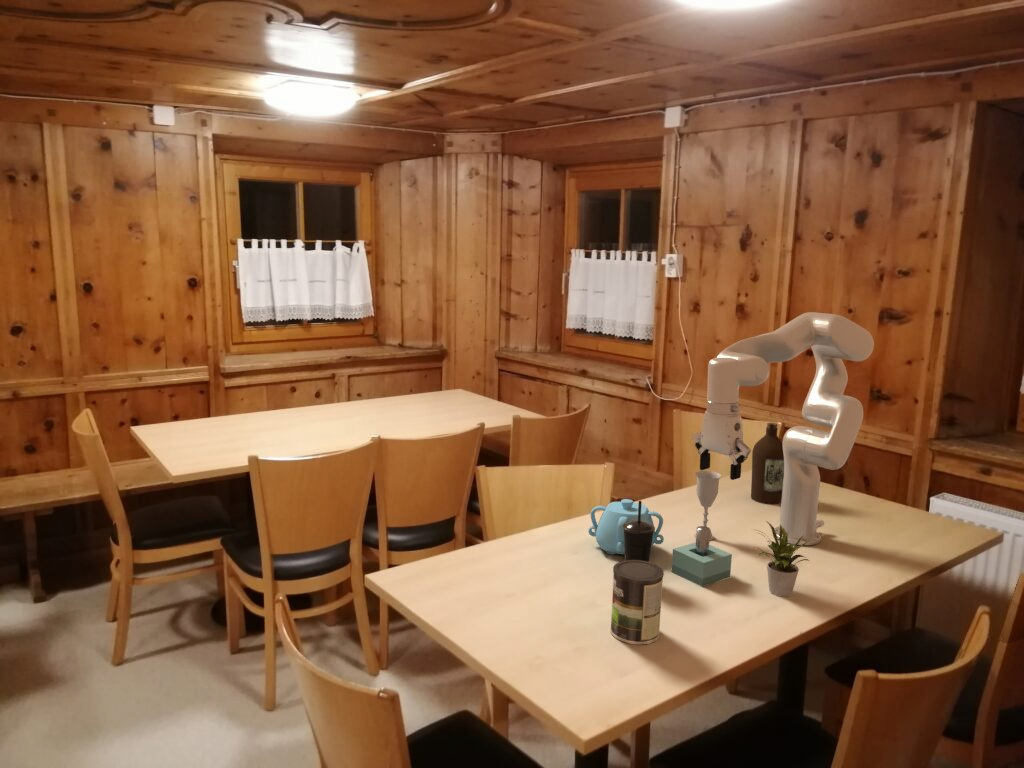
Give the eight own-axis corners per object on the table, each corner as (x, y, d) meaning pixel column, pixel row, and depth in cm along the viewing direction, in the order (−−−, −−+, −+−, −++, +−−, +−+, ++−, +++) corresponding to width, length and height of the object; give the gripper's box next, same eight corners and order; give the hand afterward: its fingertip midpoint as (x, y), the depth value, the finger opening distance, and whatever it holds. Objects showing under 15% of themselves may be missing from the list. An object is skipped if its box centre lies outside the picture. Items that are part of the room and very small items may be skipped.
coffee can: (616, 645, 159) (619, 580, 156) (605, 621, 169) (608, 559, 166) (666, 644, 160) (669, 579, 157) (652, 620, 170) (656, 559, 167)
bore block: (699, 563, 200) (700, 540, 199) (730, 577, 192) (731, 554, 191) (671, 571, 195) (672, 548, 194) (701, 586, 187) (703, 562, 186)
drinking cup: (654, 576, 192) (658, 498, 188) (649, 589, 185) (653, 508, 181) (623, 571, 194) (627, 494, 191) (617, 584, 187) (620, 504, 184)
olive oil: (742, 494, 256) (748, 420, 251) (772, 493, 258) (778, 419, 253) (759, 505, 245) (765, 428, 241) (790, 504, 248) (796, 427, 243)
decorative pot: (612, 565, 198) (615, 514, 196) (583, 542, 213) (585, 494, 210) (667, 556, 204) (670, 507, 202) (635, 534, 219) (637, 488, 216)
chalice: (717, 542, 214) (721, 479, 211) (691, 540, 216) (695, 477, 212) (716, 533, 221) (720, 471, 218) (691, 531, 223) (695, 470, 219)
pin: (700, 563, 195) (702, 525, 193) (710, 567, 193) (712, 529, 191) (691, 566, 193) (693, 527, 192) (701, 570, 191) (703, 531, 189)
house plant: (732, 581, 190) (736, 517, 187) (777, 573, 195) (783, 511, 192) (771, 607, 177) (777, 538, 174) (819, 598, 182) (826, 531, 179)
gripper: (761, 411, 189) (757, 479, 193) (705, 399, 203) (703, 462, 207) (740, 416, 185) (737, 485, 188) (685, 403, 199) (683, 468, 202)
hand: (719, 473), depth 198 cm, fingers open, 9 cm apart
